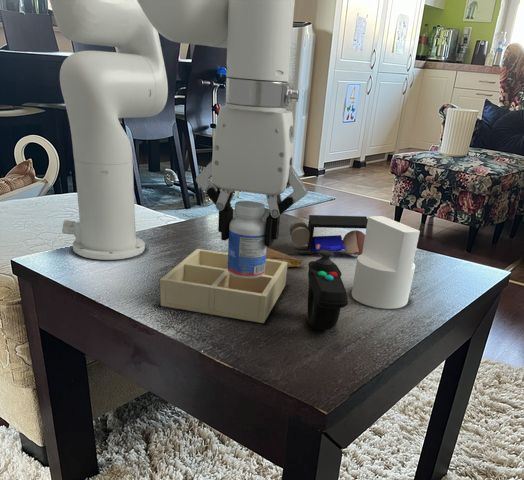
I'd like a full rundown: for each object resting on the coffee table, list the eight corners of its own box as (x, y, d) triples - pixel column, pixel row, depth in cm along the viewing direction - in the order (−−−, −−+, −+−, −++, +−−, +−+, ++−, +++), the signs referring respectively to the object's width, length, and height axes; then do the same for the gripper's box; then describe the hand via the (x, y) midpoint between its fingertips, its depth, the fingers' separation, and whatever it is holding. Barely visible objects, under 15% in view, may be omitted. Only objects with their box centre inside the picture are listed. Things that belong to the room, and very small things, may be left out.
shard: (302, 268, 96) (303, 258, 95) (273, 277, 91) (274, 267, 90) (259, 252, 102) (260, 243, 101) (230, 259, 97) (230, 250, 96)
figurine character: (291, 263, 102) (370, 260, 102) (290, 224, 98) (372, 221, 98) (289, 252, 108) (364, 249, 108) (289, 215, 104) (365, 212, 104)
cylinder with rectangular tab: (419, 304, 85) (436, 230, 79) (375, 312, 81) (389, 234, 75) (383, 284, 92) (396, 214, 86) (340, 290, 88) (351, 217, 82)
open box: (160, 305, 77) (160, 279, 75) (196, 271, 90) (197, 248, 88) (263, 323, 74) (266, 296, 73) (285, 285, 88) (287, 261, 86)
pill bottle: (226, 265, 78) (228, 198, 74) (262, 266, 79) (267, 200, 74) (228, 279, 73) (231, 207, 69) (267, 280, 74) (272, 209, 69)
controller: (329, 311, 80) (338, 246, 75) (343, 350, 69) (355, 277, 64) (300, 309, 80) (308, 244, 75) (310, 348, 69) (320, 275, 64)
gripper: (329, 101, 67) (313, 242, 76) (200, 90, 70) (198, 226, 79) (321, 104, 61) (304, 257, 69) (179, 91, 64) (179, 239, 72)
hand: (247, 239), depth 74 cm, fingers closed on pill bottle, 5 cm apart
